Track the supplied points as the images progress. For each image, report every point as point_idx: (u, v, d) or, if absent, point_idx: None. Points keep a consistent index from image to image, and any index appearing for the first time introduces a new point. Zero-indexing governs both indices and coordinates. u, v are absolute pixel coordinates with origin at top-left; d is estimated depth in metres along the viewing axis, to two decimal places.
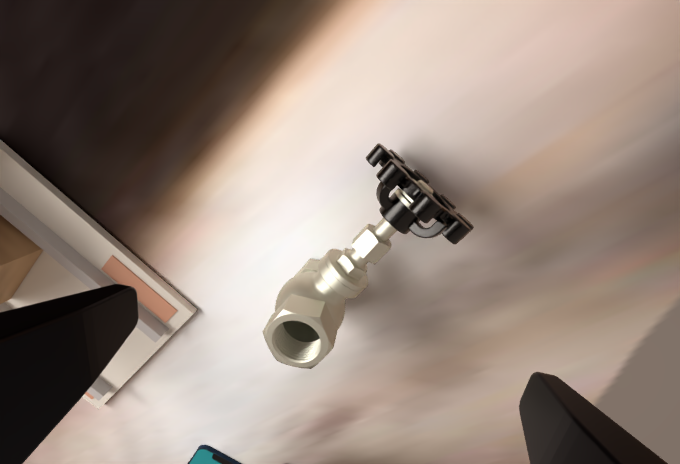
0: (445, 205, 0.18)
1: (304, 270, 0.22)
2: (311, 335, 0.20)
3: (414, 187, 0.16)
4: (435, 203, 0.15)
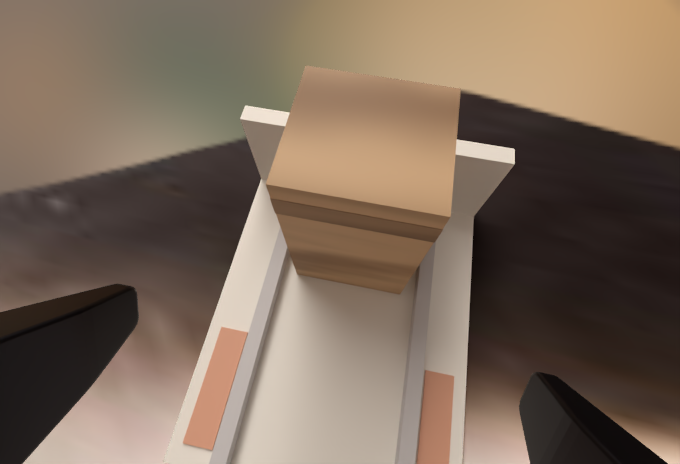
0: None
1: None
2: None
3: None
4: None
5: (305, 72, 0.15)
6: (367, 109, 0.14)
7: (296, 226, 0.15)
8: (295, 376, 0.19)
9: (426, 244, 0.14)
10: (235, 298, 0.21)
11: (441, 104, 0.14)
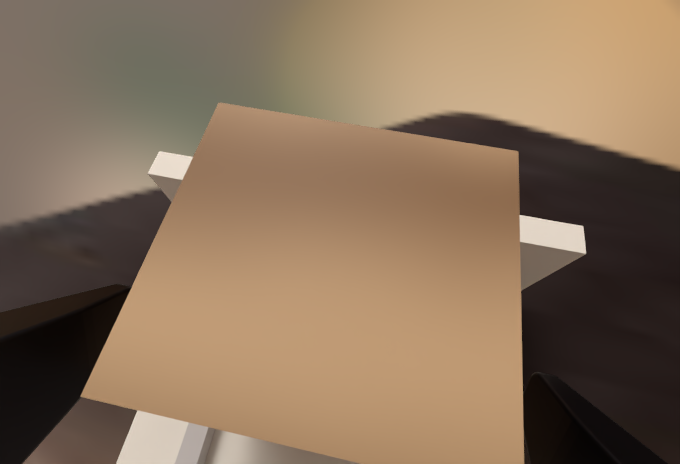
0: None
1: None
2: None
3: None
4: None
5: (216, 116, 0.08)
6: (331, 197, 0.07)
7: None
8: None
9: None
10: (151, 437, 0.14)
11: (482, 186, 0.07)
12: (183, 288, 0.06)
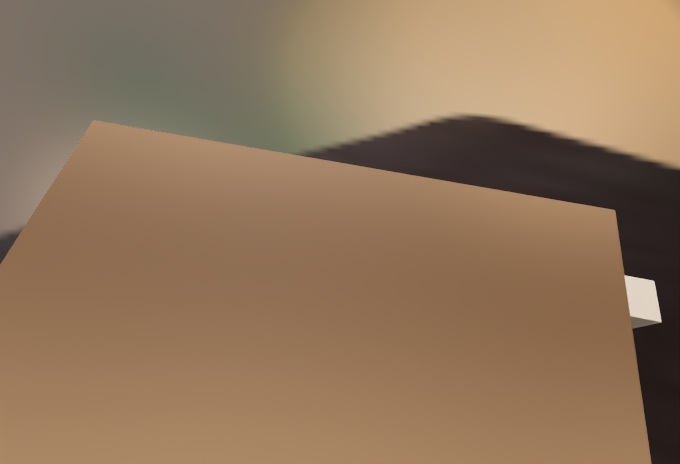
0: None
1: None
2: None
3: None
4: None
5: (83, 145, 0.04)
6: (273, 307, 0.04)
7: None
8: None
9: None
10: None
11: (557, 281, 0.04)
12: None
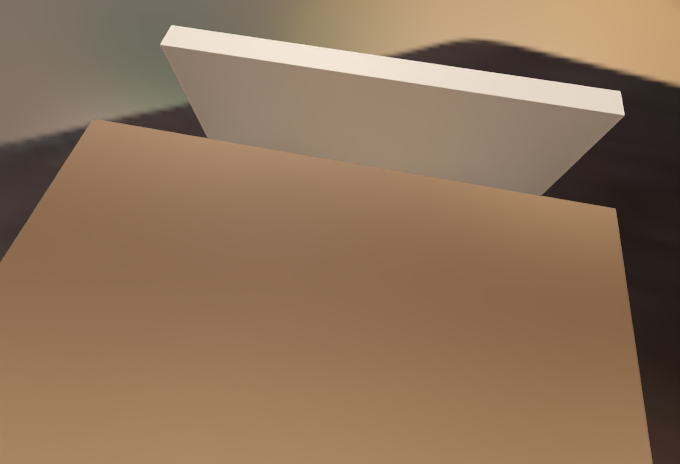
0: None
1: None
2: None
3: None
4: None
5: (83, 144, 0.04)
6: (273, 306, 0.04)
7: None
8: None
9: None
10: None
11: (558, 279, 0.04)
12: None
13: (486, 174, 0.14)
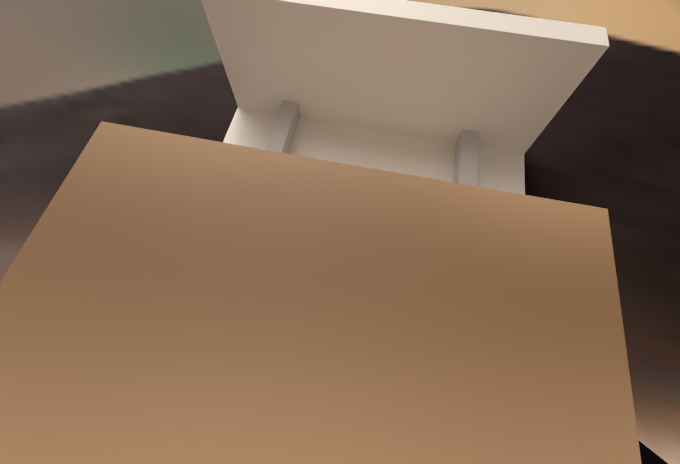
0: None
1: None
2: None
3: None
4: None
5: (92, 146, 0.04)
6: (277, 302, 0.04)
7: None
8: None
9: None
10: None
11: (551, 277, 0.04)
12: None
13: (487, 116, 0.16)
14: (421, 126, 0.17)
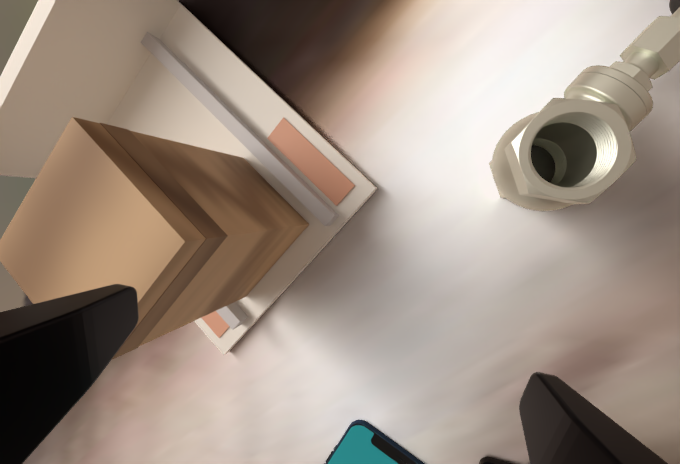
0: None
1: None
2: None
3: None
4: None
5: None
6: (56, 230, 0.12)
7: (165, 326, 0.15)
8: None
9: (229, 239, 0.13)
10: None
11: (80, 152, 0.12)
12: None
13: (132, 23, 0.21)
14: (128, 69, 0.23)
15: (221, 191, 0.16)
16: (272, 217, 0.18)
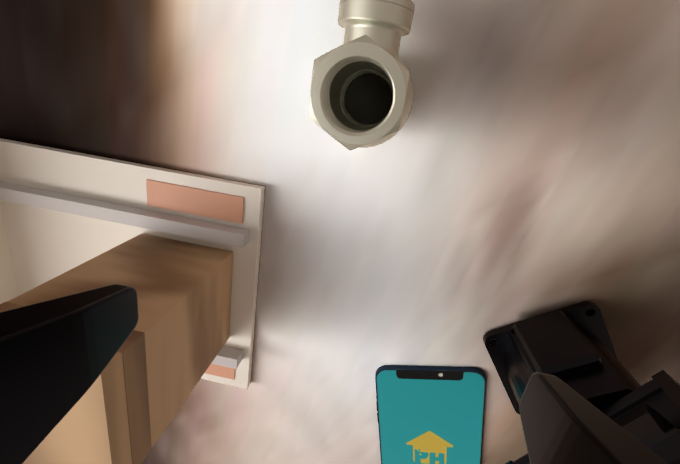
0: None
1: None
2: None
3: None
4: None
5: None
6: None
7: (163, 418, 0.17)
8: None
9: (149, 332, 0.14)
10: None
11: None
12: None
13: None
14: None
15: None
16: (189, 274, 0.18)
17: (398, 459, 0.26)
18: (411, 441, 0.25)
